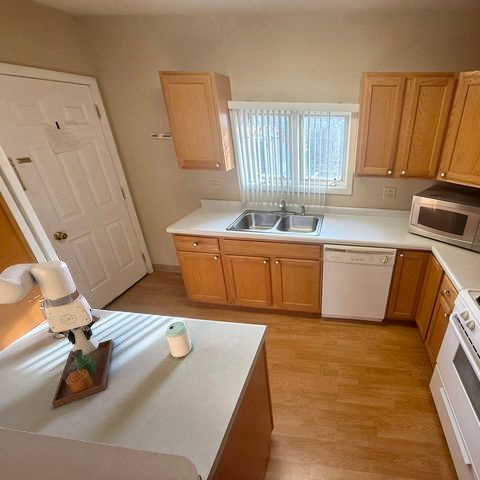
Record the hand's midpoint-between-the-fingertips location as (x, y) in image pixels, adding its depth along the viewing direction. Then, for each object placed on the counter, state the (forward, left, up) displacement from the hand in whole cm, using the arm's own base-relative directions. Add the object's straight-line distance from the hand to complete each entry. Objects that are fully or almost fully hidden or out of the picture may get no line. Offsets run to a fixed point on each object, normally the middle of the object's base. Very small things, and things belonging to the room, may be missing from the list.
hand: (82, 339), depth 90 cm
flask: (0, 0, -5) cm, 5 cm away
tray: (0, -6, -9) cm, 11 cm away
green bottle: (0, -7, -9) cm, 11 cm away
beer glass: (-11, +21, -9) cm, 25 cm away
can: (+29, -12, -9) cm, 33 cm away
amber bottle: (0, -14, -9) cm, 16 cm away
